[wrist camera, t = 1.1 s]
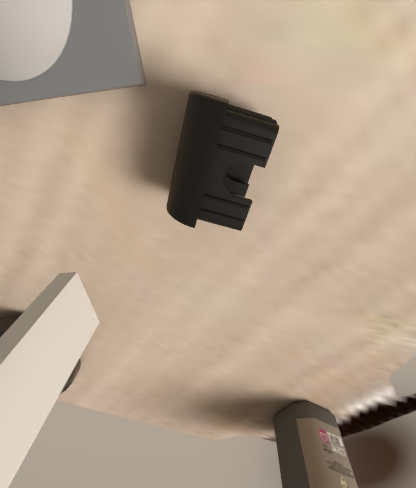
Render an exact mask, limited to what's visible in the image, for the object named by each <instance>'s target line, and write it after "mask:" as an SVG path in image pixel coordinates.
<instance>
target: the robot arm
mask: <svg viewBox="0 0 416 488" xmlns="http://www.w3.org/2000/svg"><path fill="white" fill-rule="evenodd" d="M98 324H99V320H98V318H97V316H96V314H95V311H94V309H93V307H92V305H91V302H90V300H89V298H88V296H87V293H86V291H85V289H84V287H83V285H82V282H81V280H80V278H79V276H78V273H77V272H73V273H59V274H58V275H57V276H56V278H55V279H54V280H53V281H52V282H51V283H50V284H49V285H48V286H47V287H46V288H45V290H44V291H43V292H42V293H41V294H40V295H39V296H38V297H37V298H36V299H35V300H34V302H33V303H32V304H31V305H30V306H29V307H28V308H27V309H26V310H25V311H24V312H23V314H22V315H21V316H20V317H19V318H18V317H5V318H0V488H8V487H9V485H10V483H11V481H12V480H13V477H14V476H15V474H16V472H17V470H18V469H19V467H20V465H21V463H22V461H23V459H24V458H25V456H26V454H27V452H28V451H29V449H30V447H31V445H32V443H33V441H34V440H35V438H36V436H37V434H38V433H39V431H40V429H41V427H42V425H43V424H44V422H45V420H46V418H47V416H48V414H49V413H50V411H51V409H52V407H53V405H54V404H55V402H56V400H57V398H58V396H59V395H60V394H61V393H62V392H64V391H65V390H66V389H67V388H68V387H69V386H70V385H71V384H72V382H73V381H74V379H75V377H76V375H77V373H78V371H79V369H80V365H81V361H80V357H81V355H82V353H83V351H84V349H85V348H86V346H87V344H88V342H89V340H90V339H91V337H92V335H93V333H94V331H95V330H96V328H97V326H98Z"/></svg>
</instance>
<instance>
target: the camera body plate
mask: <svg viewBox="0 0 416 488" xmlns="http://www.w3.org/2000/svg"><path fill="white" fill-rule="evenodd" d="M139 85H146V81H145V76H144V71H143V66H142V61H141V56H140V51H139V46H138V42H137V37H136V32H135V27H134V22H133V17H132V12H131V7H130V2H129V0H0V106H3V105H10V104H17V103H23V102H30V101H37V100H44V99H51V98H57V97H64V96H71V95H78V94H85V93H91V92H98V91H105V90H112V89H119V88H126V87H132V86H139Z"/></svg>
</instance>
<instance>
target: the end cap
mask: <svg viewBox="0 0 416 488" xmlns="http://www.w3.org/2000/svg"><path fill="white" fill-rule="evenodd" d="M228 103H229V100H226V99H223V98H220V97H216V96H213V95H209V94H206V93H202V92H198V91H191V92H190V94H189V98H188V103H187V108H186V113H185V117H184V122H183V127H182V132H181V137H180V142H179V147H178V152H177V157H176V162H175V167H174V172H173V177H172V182H171V187H170V192H169V197H168V201H167V211H168V213H169V214H170V215H171V216H172V217H173V218H174V219H175V220H177V221H179V222H180V223H182V224H184V225H187V226H190V227H193V228H195V225H196V221H197V219H199V220H203V221H207V222H210V223H214V224H218V225H221V226H225V227H229V228H232V229H236V230H240V231H241V230H242V228H243V225H244V222H245V220H246V217H247V214H248V212H249V209H250V206H251V204H252V200H250V199H247V198H244V197H245V195H246V192H247V189H248V186H249V184H248V181H249V178H250V175H251V172H252V169H253V166H254V165H257V166H260V167H264V168H265V166H266V163H267V161H268V158H269V155H270V153H271V150H272V147H273V145H274V142H275V139H276V137H277V134H278V130H279V125H277V122H276V120H273V119H272V118H271V117H268V116H265V115H262V114H258V113H255V112H252V111H249V110H245V109H242V108H239V107H235V106H232V105H229V104H228Z"/></svg>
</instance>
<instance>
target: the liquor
mask: <svg viewBox="0 0 416 488" xmlns="http://www.w3.org/2000/svg"><path fill="white" fill-rule="evenodd" d="M274 427H275V435H276V442H277V450H278V456H279V464H280V472H281V479H282V487H283V488H358V487H357V484H356V481H355V477H354V474H353V472H352V468H351V465H350V462H349V459H348V456H347V453H346V450H345V447H344V444H343V441H342V437H341V434H340V431H339V428H338V425H337V422H336V419H335V416H334V415H333V414H332V413H331V412H330V411H328V410H326V409H324V408H322V407H320V406H318V405H315V404H313V403H311V402H309V401H305V402H293V403H292V404H290V405H289V406H287V407H286V408H284V409H283V410H282V411H280V412H279V413H277V414H276V415H275V417H274Z"/></svg>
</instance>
